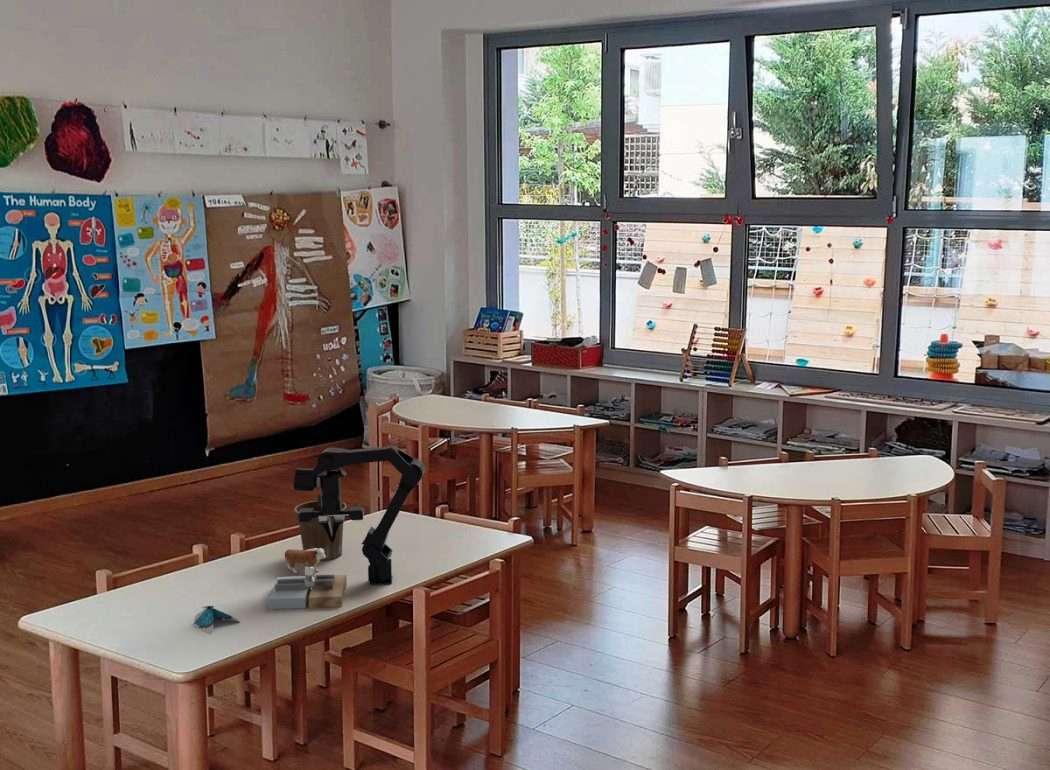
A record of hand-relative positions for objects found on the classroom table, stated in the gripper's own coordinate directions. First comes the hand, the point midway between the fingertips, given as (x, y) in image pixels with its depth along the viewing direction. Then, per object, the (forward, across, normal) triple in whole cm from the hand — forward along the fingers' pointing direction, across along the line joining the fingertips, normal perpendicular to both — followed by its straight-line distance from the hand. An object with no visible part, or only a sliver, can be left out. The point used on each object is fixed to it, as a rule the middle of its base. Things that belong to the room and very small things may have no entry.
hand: (332, 542), depth 321 cm
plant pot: (+12, +6, -24) cm, 28 cm away
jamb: (+12, +1, +13) cm, 17 cm away
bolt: (+9, +3, +13) cm, 16 cm away
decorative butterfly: (+12, +30, +31) cm, 45 cm away
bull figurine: (+12, +9, -8) cm, 17 cm away
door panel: (+12, +11, +13) cm, 21 cm away
